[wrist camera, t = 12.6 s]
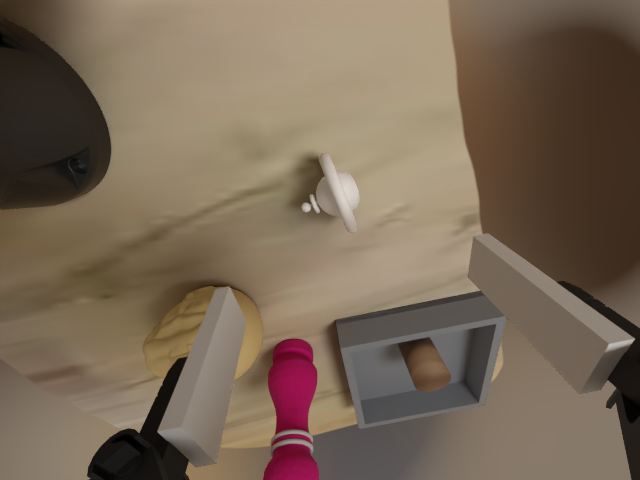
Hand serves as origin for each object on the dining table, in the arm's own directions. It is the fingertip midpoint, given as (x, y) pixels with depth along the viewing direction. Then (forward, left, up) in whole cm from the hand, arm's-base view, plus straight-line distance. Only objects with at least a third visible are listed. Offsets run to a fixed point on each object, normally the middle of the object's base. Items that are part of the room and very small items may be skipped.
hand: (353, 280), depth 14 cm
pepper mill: (+26, -10, -17) cm, 32 cm away
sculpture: (+14, -17, -17) cm, 28 cm away
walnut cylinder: (+27, +9, -16) cm, 32 cm away
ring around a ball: (0, 0, -17) cm, 17 cm away
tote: (+32, +9, -17) cm, 37 cm away
